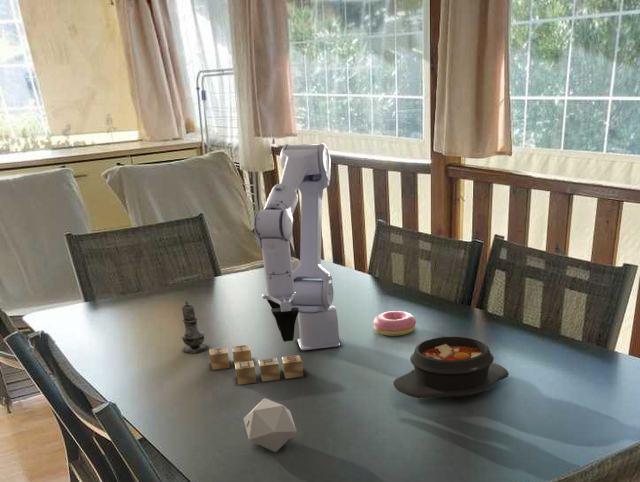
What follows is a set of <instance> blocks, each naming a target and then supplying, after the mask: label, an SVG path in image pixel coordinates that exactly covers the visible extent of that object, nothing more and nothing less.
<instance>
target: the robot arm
mask: <svg viewBox="0 0 640 482" xmlns="http://www.w3.org/2000/svg"><path fill="white" fill-rule="evenodd" d="M280 165H281V168H282V173H281V178H280V181H279V183H277V184H274V186H273V187H272V188H271V191H270V193H269V195H268V197H267V200H266V202H265V205H264V208H263V209H260V210H259V211H257V212H255V215H254V217H253V218H254V219H253V231H254V235H255V237H256V239H257V244H258V248H259V250H261V254H262V263H263V270H264V277H265V285H266V292H263V293H261V298H262V299H263V300H266V301H267V303H268V304H269V305H270V312H271V314H272V316H273V317H274V319H275V323H276V325H277V329H278V331H279V333H280V337H281V339H282V341H283V343H284V342H293V341H294V339H295V326H296V322H297V321H298V331H299V338H297V340H296V341H297V343H298V345H299V349H300V350H301V351H312V350H319V349H328V348H329V349H330V348H337V347H340V346H341V343H340V333H339V332H340V331H339V319H338V312H337V308H336V307H335V306H334V305H332V304H333V302H334V286H333V276H332V274H331V273H330V272H329V271H328V270H327V269H325V268H324V267H323V266H322V228H323V227H322V225H323V223H322V222H323V197H324V190H325V189H326V188H328V187H329V186H330V182H331V156H330V150H329V147H328V146H327V145H326V143H324V142H321V143H302V144H289V143H285V144H283V146H282V148H281V151H280ZM298 190H299V192H300V198H301V199H300V243H299V244H300V246H299V247H300V251H299V256H300V257H299V266H297V267H296V268H295V269H294V270H293V263H292V254H291V245H290V239H291V238H292V234H293V224H294V217H293V216H294V213H295V210H296V208H297V205H298V202H299V195H298V192H297V191H298ZM297 319H298V320H297ZM296 320H297V321H296Z"/></svg>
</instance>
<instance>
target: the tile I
mask: <svg viewBox="0 0 640 482" xmlns="http://www.w3.org/2000/svg"><path fill="white" fill-rule="evenodd" d="M208 350H209V351H208V353H209V358H210V363H211V370H212V371H214V370H225V369H230V368H231V366H230V365H231V364H230V359H229V354H228V348H227V347H225V346H224V347H218V348H216V347H215V348H209V349H208Z"/></svg>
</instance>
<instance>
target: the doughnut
mask: <svg viewBox="0 0 640 482" xmlns="http://www.w3.org/2000/svg"><path fill="white" fill-rule="evenodd" d="M416 324H417V321H416V317H415V316H414V314H411V313H409V312H407V311H404V310H403V311H402V310H391V311H385V312H382V313H379V314H377V315H376V316H375V318H374V319H373V323H372V326H373V328H374V330H375V332H376V333H378V334H379V335H382V336H388V337H397V336H405V335H407V334H410V333H411V332H413V331H414V329H416Z"/></svg>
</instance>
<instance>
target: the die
mask: <svg viewBox="0 0 640 482" xmlns="http://www.w3.org/2000/svg"><path fill="white" fill-rule="evenodd" d="M243 422H244V426H245V431H246V434H247V438H248V441H250V442H252V443H254V444H256V445H258V446H260V447H263V448H265V449H267V450H269V451H271V452H274V453H277V452H278V451H279V450H280V449H281V448H282V447H283V446H284V445H285V444H286V443H287V442H288V441H289V440H290V439H291V438H292V437H293V436H294V435H296V433H297V427H296V426H295V425H296V424H295V422H294V418H293V415H292V412H291V410H290V409H289V408H287V407H286V406H285V405H283V404H281V403H278V402H276V401H273V400H270V399H268V398H265V397H264V398H263V399H261V401H259V402H258V404H257V405H256V406H255V407H254V408H252V410H250V411H249V412H248V413H247V414H246V415H245V416H244V418H243Z"/></svg>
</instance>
